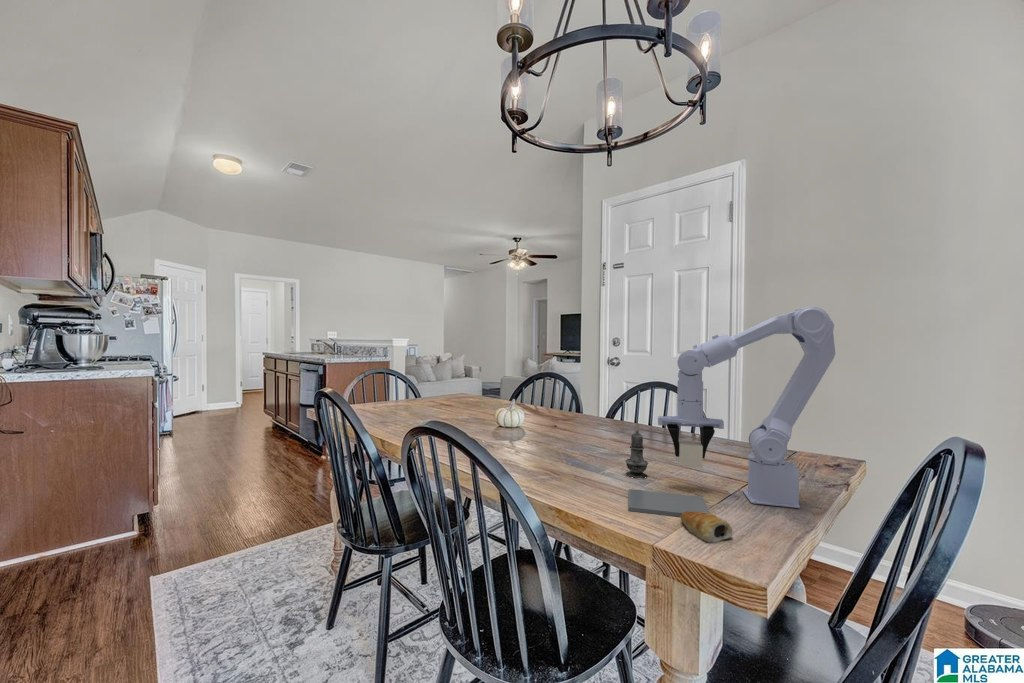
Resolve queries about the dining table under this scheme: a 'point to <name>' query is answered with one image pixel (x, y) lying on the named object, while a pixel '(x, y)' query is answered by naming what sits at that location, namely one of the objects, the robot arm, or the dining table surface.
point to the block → (690, 453)
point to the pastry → (706, 526)
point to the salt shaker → (636, 457)
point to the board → (665, 503)
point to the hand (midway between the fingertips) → (689, 456)
